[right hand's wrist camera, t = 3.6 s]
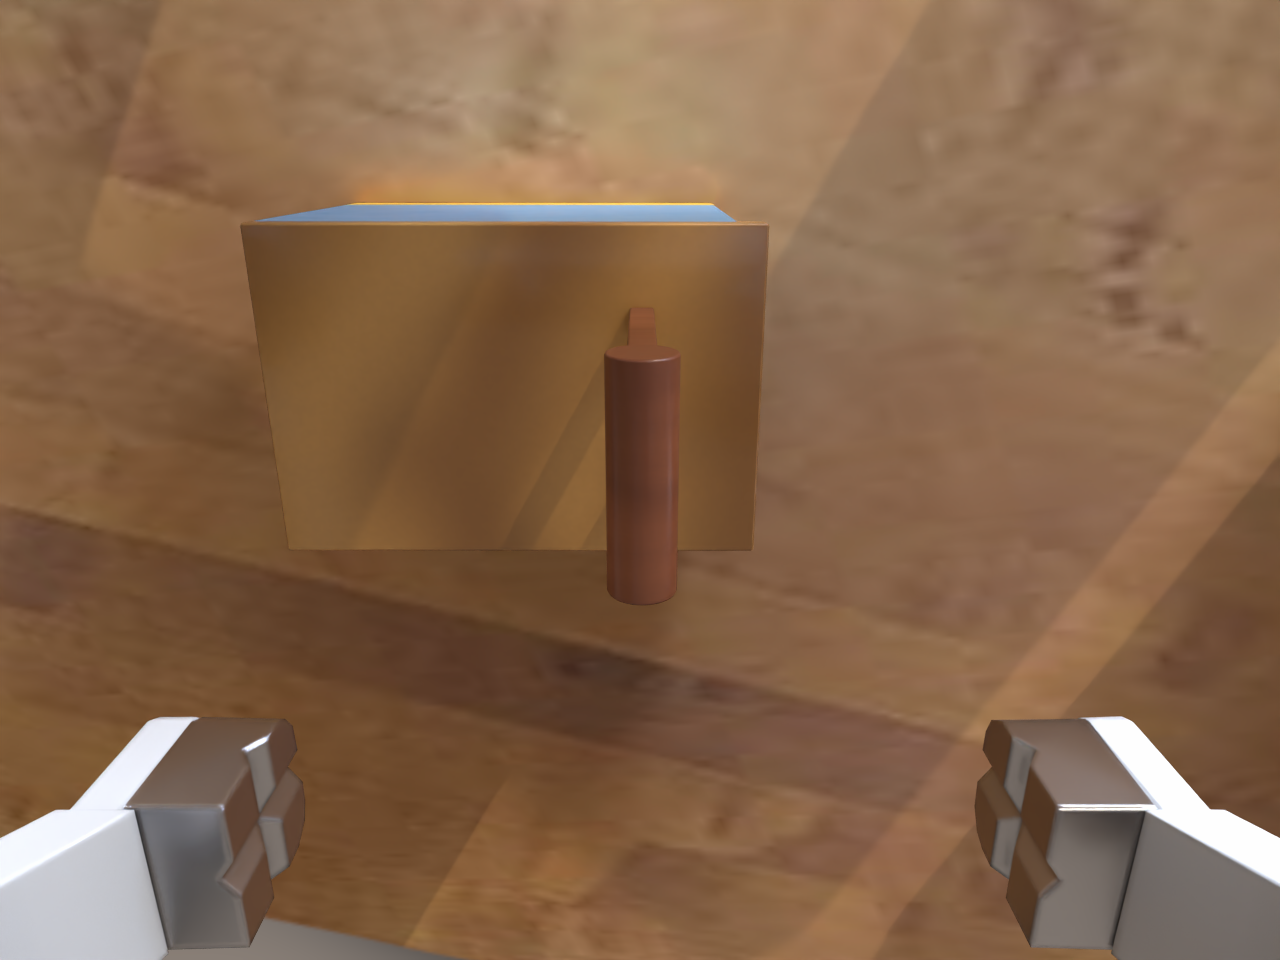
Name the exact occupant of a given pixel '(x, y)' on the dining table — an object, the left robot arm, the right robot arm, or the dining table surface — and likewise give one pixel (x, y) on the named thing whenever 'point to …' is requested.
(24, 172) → the dining table surface
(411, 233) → the lid
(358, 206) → the chest
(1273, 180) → the dining table surface
